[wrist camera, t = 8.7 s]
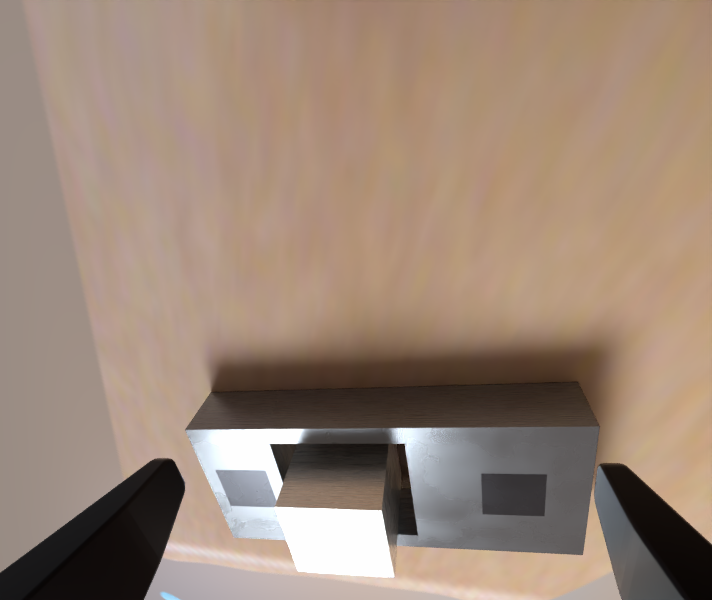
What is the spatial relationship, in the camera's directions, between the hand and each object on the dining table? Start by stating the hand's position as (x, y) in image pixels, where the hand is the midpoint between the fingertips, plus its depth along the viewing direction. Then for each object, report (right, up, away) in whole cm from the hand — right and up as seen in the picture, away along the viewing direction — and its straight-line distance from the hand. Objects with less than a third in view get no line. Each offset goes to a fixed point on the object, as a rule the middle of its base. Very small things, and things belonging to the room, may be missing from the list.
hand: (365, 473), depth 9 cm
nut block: (0, -5, +16) cm, 17 cm away
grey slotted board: (+2, -5, +16) cm, 17 cm away
